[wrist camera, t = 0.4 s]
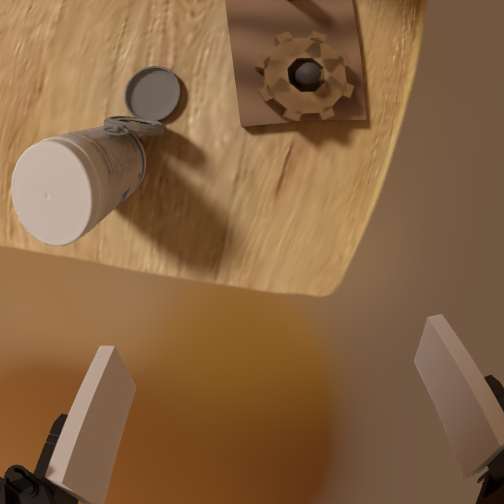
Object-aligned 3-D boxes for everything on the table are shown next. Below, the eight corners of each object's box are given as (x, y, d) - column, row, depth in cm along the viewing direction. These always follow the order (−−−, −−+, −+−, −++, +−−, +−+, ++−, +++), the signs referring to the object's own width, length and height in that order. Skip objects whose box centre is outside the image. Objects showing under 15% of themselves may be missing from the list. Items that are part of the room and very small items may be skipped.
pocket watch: (171, 58, 29) (142, 42, 20) (195, 122, 32) (174, 128, 23) (109, 88, 30) (65, 86, 21) (132, 148, 33) (95, 165, 24)
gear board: (219, -45, 22) (214, -70, 16) (337, -48, 21) (351, -70, 16) (241, 126, 32) (239, 130, 27) (361, 119, 32) (384, 122, 26)
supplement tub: (115, 213, 37) (57, 269, 24) (69, 162, 34) (-4, 198, 20) (165, 162, 34) (115, 199, 21) (115, 107, 31) (42, 116, 18)
